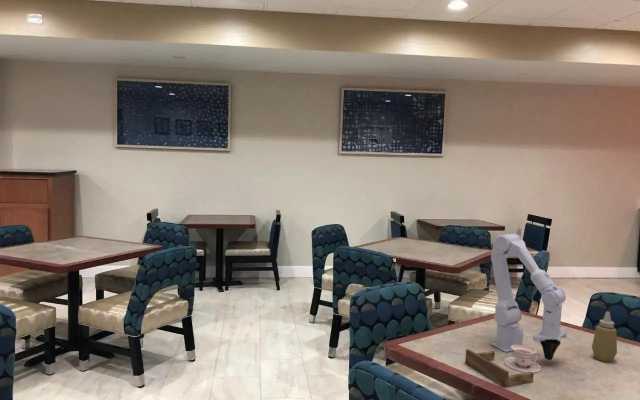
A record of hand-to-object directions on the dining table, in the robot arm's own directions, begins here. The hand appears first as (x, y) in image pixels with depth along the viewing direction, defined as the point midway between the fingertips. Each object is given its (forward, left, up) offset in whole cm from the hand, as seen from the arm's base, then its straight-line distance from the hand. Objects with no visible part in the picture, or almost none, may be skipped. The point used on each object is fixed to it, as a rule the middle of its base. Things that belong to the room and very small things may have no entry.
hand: (548, 359), depth 167 cm
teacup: (+11, -2, -2) cm, 11 cm away
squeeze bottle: (-24, +4, -2) cm, 24 cm away
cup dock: (+24, 0, -2) cm, 24 cm away
